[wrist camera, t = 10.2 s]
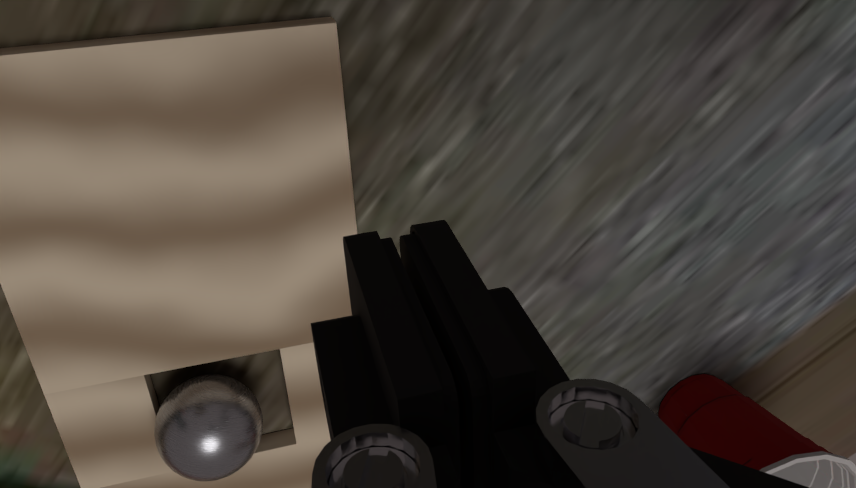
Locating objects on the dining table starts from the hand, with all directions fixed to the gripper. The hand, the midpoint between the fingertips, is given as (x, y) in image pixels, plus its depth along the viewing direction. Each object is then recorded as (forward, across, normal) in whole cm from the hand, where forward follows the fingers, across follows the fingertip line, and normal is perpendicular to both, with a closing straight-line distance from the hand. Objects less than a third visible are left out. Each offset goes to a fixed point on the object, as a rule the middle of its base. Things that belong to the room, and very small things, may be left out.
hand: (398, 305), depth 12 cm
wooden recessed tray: (+26, +7, +16) cm, 32 cm away
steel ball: (+23, +8, +22) cm, 33 cm away
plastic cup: (+27, -27, +33) cm, 51 cm away
